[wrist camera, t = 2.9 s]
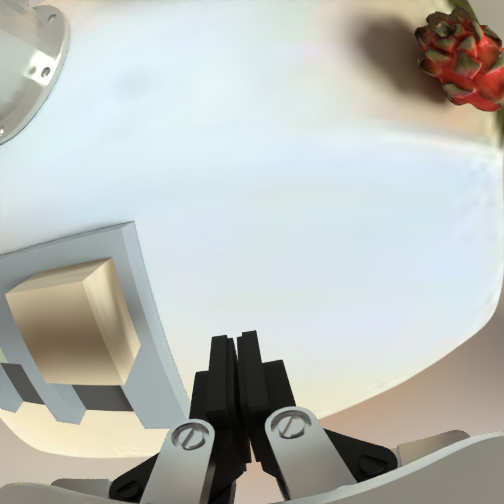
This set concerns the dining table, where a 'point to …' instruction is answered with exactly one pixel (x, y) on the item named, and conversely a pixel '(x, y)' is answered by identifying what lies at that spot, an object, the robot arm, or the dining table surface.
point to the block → (76, 324)
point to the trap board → (143, 318)
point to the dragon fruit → (463, 59)
